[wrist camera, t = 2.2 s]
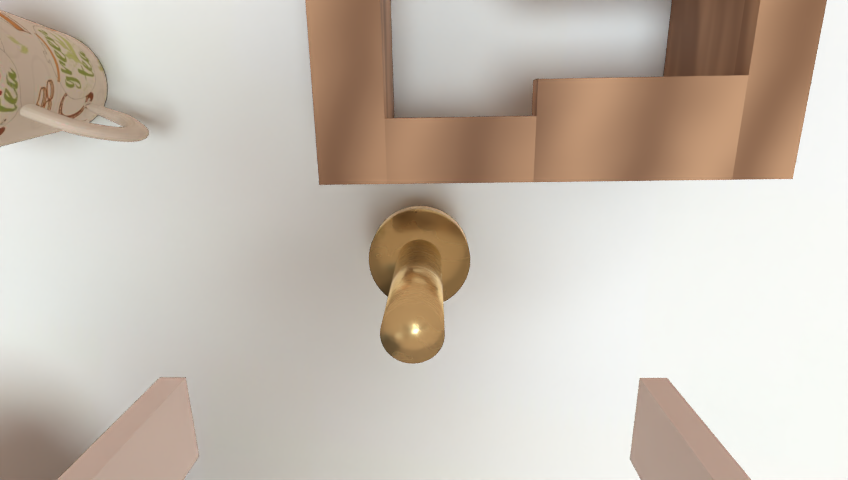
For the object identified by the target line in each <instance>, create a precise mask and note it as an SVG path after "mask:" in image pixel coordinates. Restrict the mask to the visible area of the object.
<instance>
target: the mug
mask: <svg viewBox="0 0 848 480" xmlns="http://www.w3.org/2000/svg"><path fill="white" fill-rule="evenodd" d="M106 97H107V81H106V76H105V73H104V70H103V68H102V66H101V64H100V62H99V60H98V59H97V57H96V56H95V55H94V53H93V52H92V51H91V50H90V49H89V48H88V47H87V46H86V45H84V44H83V43H82V42H80V41H79V40H77V39H75V38H73V37H71V36H69V35H67V34H64V33H61V32H59V31H56V30H53V29H51V28H48V27H45V26H43V25H40V24H37V23H34V22H32V21H29V20H26V19H24V18H21V17H18V16H15V15H13V14H10V13H7V12H5V11H2V10H0V147H1V146H5V145H9V144H12V143H16V142H20V141H24V140H28V139H32V138H36V137H40V136H43V135H47V134H51V133H55V132H59V131H65V132H68V133H72V134H76V135H80V136H86V137H91V138H96V139H104V140H111V141H123V142H134V141H141V140H143V139H146V138H147V137H148V135H149V130H148V129H147V127H146V126H145V125H143V124H142V123H140V122H139V121H138V120H136V119H135V118H134V117H132V116H130V115H128V114H125V113H122V112H119V111H115V110H112V109H109V108H106V107H104V104H105V101H106ZM97 115H99V116H101V117H104V118H106V119H108V120H110V121H113V122H115V123H117V124H119V125H121V126H122V127H113V126H105V125H99V124H94V123H89V122H90V121H92V120H93V119H94V118H95V117H97Z"/></svg>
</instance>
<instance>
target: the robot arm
mask: <svg viewBox="0 0 848 480" xmlns="http://www.w3.org/2000/svg"><path fill="white" fill-rule="evenodd" d="M198 457H199V452H198V446H197V440H196V435H195V429H194V423H193V417H192V412H191V406H190V400H189V394H188V388H187V383H186V377H160V378H159V379H158V380H157V381H156V382H155V383H154V384H153V385H152V386H151V387H150V388H149V389H148V390H147V391H146V392H145V393H144V394H143V395H142V396H141V397H140V398H139V399H138V400H137V401H136V402H135V403H134V404H133V405H132V406H131V407H130V408H129V409H128V410H127V411H126V412H125V413H124V414H123V415H122V416H121V417H120V418H119V419H117V420H116V421H115V422H114V423H113V424H112V425H111V426H110V427H109V428H108V429H107V430H106V431H105V432H104V433H103V434H102V435H101V436H100V437H99V438H98V439H97V440H96V441H95V442H94V443H93V444H92V445H91V446H90V447H89V448H88V449H87V450H86V451H85V452H84V453H83V454H82V455H81V456H80V457H79V458H78V459H77V460H76V461H75V462H74V463H73V464H72V465H71V466H70V467H69V468H68V469H67V470H66V471H65V472H64V473H63V474H62V475H61V476H60V477H59V478H58V479H57V480H184V478H185V477H186V475H187V474H188V472H189V471H190V469H191V468H192V466H193V465H194V463H195V462H196V460H197V459H198ZM630 460H631V462H632V464H633V466H634V468H635V470H636V471H637V473H638V475H639V477H640V479H641V480H751V479H750V478H749V477H748V475H747V474H746V473H745V472H744V470H743V469H742V468H741V467H740V466H739V464H738V463H737V462H736V461H735V460H734V458H733V457H732V456H731V455H730V454H729V452H728V451H727V450H726V449H725V447H724V446H723V445H722V444H721V443H720V441H719V440H718V439H717V438H716V437H715V435H714V434H713V433H712V432H711V431H710V429H709V428H708V427H707V426H706V425H705V423H704V422H703V421H702V420H701V418H700V417H699V416H698V415H697V414H696V412H695V411H694V410H693V409H692V408H691V406H690V405H689V404H688V403H687V402H686V400H685V399H684V398H683V397H682V396H681V394H680V393H679V392H678V391H677V389H676V388H675V387H674V386H673V385H672V383H671V382H670V381H669V380H668V379H667V378H640V380H639V388H638V396H637V404H636V413H635V421H634V429H633V437H632V445H631V454H630Z"/></svg>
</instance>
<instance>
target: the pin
mask: <svg viewBox="0 0 848 480" xmlns="http://www.w3.org/2000/svg"><path fill="white" fill-rule="evenodd" d="M369 266H370V271H371V274H372V277H373V279H374V281H375V283H376V284H377V286H378V287H379V288H380V290H381V291H382V292H383V293H384V294H385V295H387V296H388V300H387V304H386V308H385V312H384V316H383V320H382V325H381V329H380V338H381V342H382V344H383V347H384V348H385V350H386V351H387V352H388V353H389V354H390V355H391V356H392V357H393V358H395V359H397V360H399V361H402V362H405V363H421V362H424V361H427V360H429V359H431V358H432V357H433V356H435V355H436V354H437V353H438V352H439V350H440V349H441V347H442V345H443V342H444V337H445V331H444V309H443V302H444V301H446V300H448V299H449V298H451V297H452V296H453V295H454V294H455V293H456V292H457V291H458V290H459V289H460V288H461V286H462V285H463V283H464V282H465V280H466V278H467V275H468V272H469V267H470V253H469V248H468V243H467V240H466V237H465V234H464V232H463V230H462V229H461V227H460V226H459V224H458V223H457V222H456V221H455V220H454V219H453V218H452V217H451V216H449V215H448V214H446V213H445V212H443V211H441V210H439V209H436V208H433V207H428V206H412V207H407V208H404V209H401V210H399V211H397V212H395V213H393V214H392V215H390V216H389V217H388V218H387V219H386V220H385V221H384V222H383V223H382V224H381V225H380V227H379V229H378V230H377V232H376V234H375V237H374V239H373V241H372V244H371V247H370V252H369Z"/></svg>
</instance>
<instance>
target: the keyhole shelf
mask: <svg viewBox="0 0 848 480" xmlns="http://www.w3.org/2000/svg"><path fill="white" fill-rule="evenodd" d="M826 2H827V0H672V6H671V15H670V24H669V32H668V41H667V50H666V59H665V68H664V77H621V78H565V79H536V80H533V98H532V116H487V117H424V118H394V94H393V63H392V31H391V0H306V14H307V27H308V40H309V53H310V67H311V80H312V93H313V106H314V120H315V133H316V146H317V160H318V173H319V185H334V184H414V183H494V182H574V181H654V180H734V179H793V174H794V168H795V163H796V158H797V153H798V148H799V142H800V137H801V132H802V127H803V122H804V116H805V111H806V106H807V101H808V96H809V90H810V85H811V80H812V75H813V70H814V64H815V59H816V54H817V49H818V44H819V38H820V33H821V28H822V23H823V18H824V13H825V7H826Z"/></svg>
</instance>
